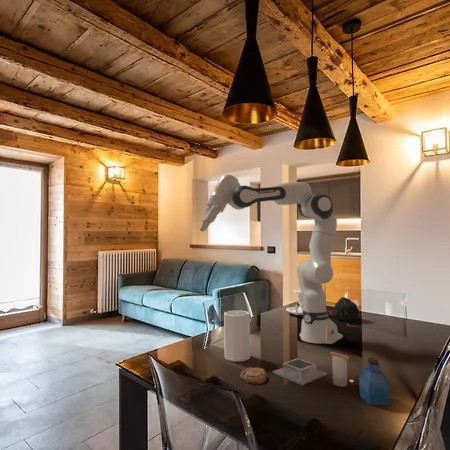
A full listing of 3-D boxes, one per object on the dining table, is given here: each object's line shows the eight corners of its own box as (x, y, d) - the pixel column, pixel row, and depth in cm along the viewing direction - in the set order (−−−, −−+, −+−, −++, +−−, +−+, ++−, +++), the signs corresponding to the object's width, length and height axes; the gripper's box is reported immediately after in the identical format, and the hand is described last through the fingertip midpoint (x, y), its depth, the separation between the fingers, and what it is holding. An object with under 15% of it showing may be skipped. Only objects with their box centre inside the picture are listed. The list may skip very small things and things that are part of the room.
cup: (232, 364, 130) (231, 317, 131) (219, 355, 140) (219, 311, 141) (255, 359, 136) (255, 313, 137) (241, 351, 145) (241, 309, 146)
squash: (361, 309, 207) (344, 291, 209) (365, 315, 192) (347, 295, 194) (343, 323, 209) (327, 305, 211) (347, 330, 194) (329, 311, 197)
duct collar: (296, 364, 130) (296, 354, 130) (327, 374, 119) (327, 364, 119) (272, 373, 121) (272, 363, 121) (303, 385, 110) (302, 374, 110)
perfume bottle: (359, 395, 103) (358, 356, 104) (378, 394, 103) (377, 355, 104) (370, 405, 97) (368, 363, 97) (390, 404, 97) (388, 362, 98)
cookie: (249, 387, 110) (249, 378, 110) (235, 375, 120) (235, 367, 120) (274, 382, 114) (274, 373, 114) (259, 371, 124) (259, 363, 124)
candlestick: (280, 317, 210) (279, 273, 211) (290, 310, 232) (289, 270, 233) (312, 320, 200) (311, 274, 202) (320, 312, 223) (319, 271, 224)
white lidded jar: (335, 378, 115) (334, 350, 116) (352, 384, 110) (351, 355, 111) (327, 382, 113) (327, 353, 113) (344, 388, 108) (344, 358, 108)
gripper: (225, 205, 147) (211, 233, 145) (218, 210, 167) (205, 234, 165) (213, 199, 146) (198, 226, 144) (207, 204, 166) (194, 228, 164)
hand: (202, 230), depth 155 cm, fingers open, 8 cm apart
